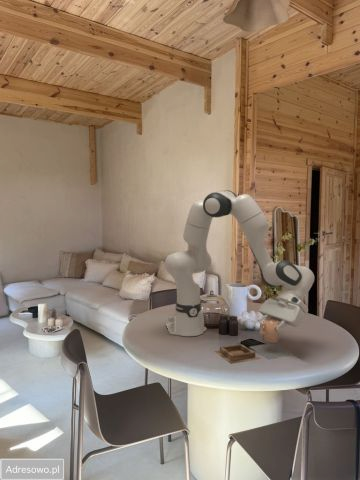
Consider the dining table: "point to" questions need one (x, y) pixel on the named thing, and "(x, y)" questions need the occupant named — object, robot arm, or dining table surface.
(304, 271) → the robot arm
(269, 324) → the orange mug
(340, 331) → the dining table surface
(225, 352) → the walnut stand
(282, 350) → the charcoal board
